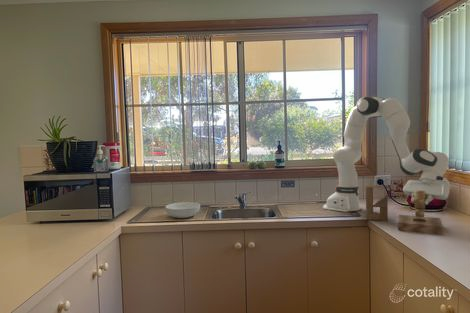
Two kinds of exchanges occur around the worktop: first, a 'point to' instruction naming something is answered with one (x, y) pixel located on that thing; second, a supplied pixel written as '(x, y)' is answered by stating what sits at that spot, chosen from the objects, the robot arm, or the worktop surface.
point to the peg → (419, 203)
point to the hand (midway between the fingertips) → (418, 202)
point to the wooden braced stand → (381, 203)
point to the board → (420, 224)
